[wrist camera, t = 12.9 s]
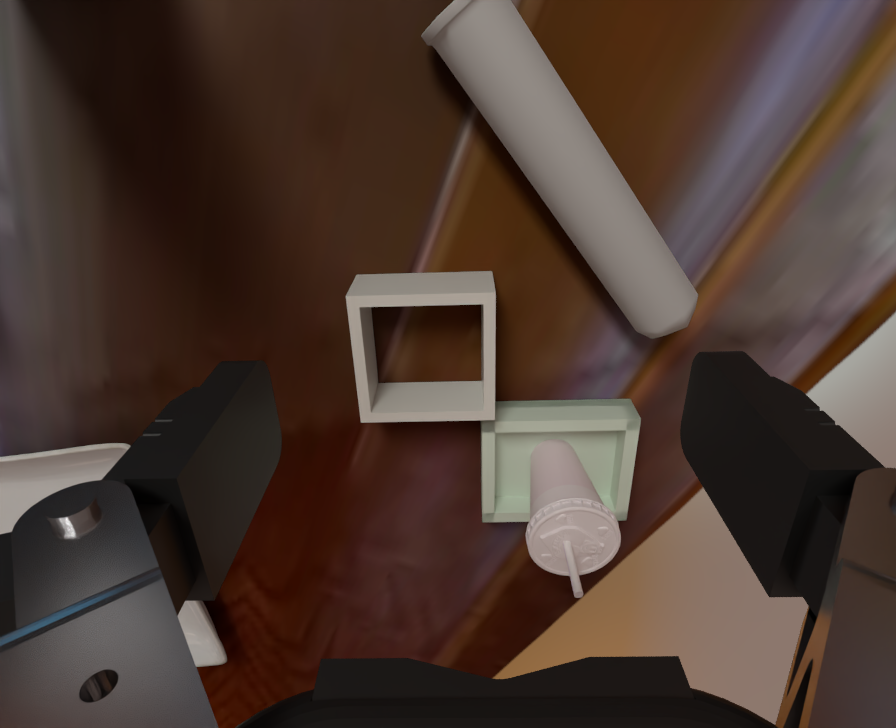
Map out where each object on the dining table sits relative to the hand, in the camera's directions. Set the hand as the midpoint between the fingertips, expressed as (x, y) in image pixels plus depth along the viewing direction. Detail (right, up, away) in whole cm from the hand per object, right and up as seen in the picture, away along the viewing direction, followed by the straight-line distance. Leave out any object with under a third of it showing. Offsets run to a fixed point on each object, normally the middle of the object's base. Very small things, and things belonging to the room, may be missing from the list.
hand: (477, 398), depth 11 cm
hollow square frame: (-2, +3, +32) cm, 33 cm away
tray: (+8, -7, +37) cm, 38 cm away
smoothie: (+8, -7, +36) cm, 38 cm away
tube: (+8, +13, +27) cm, 31 cm away
